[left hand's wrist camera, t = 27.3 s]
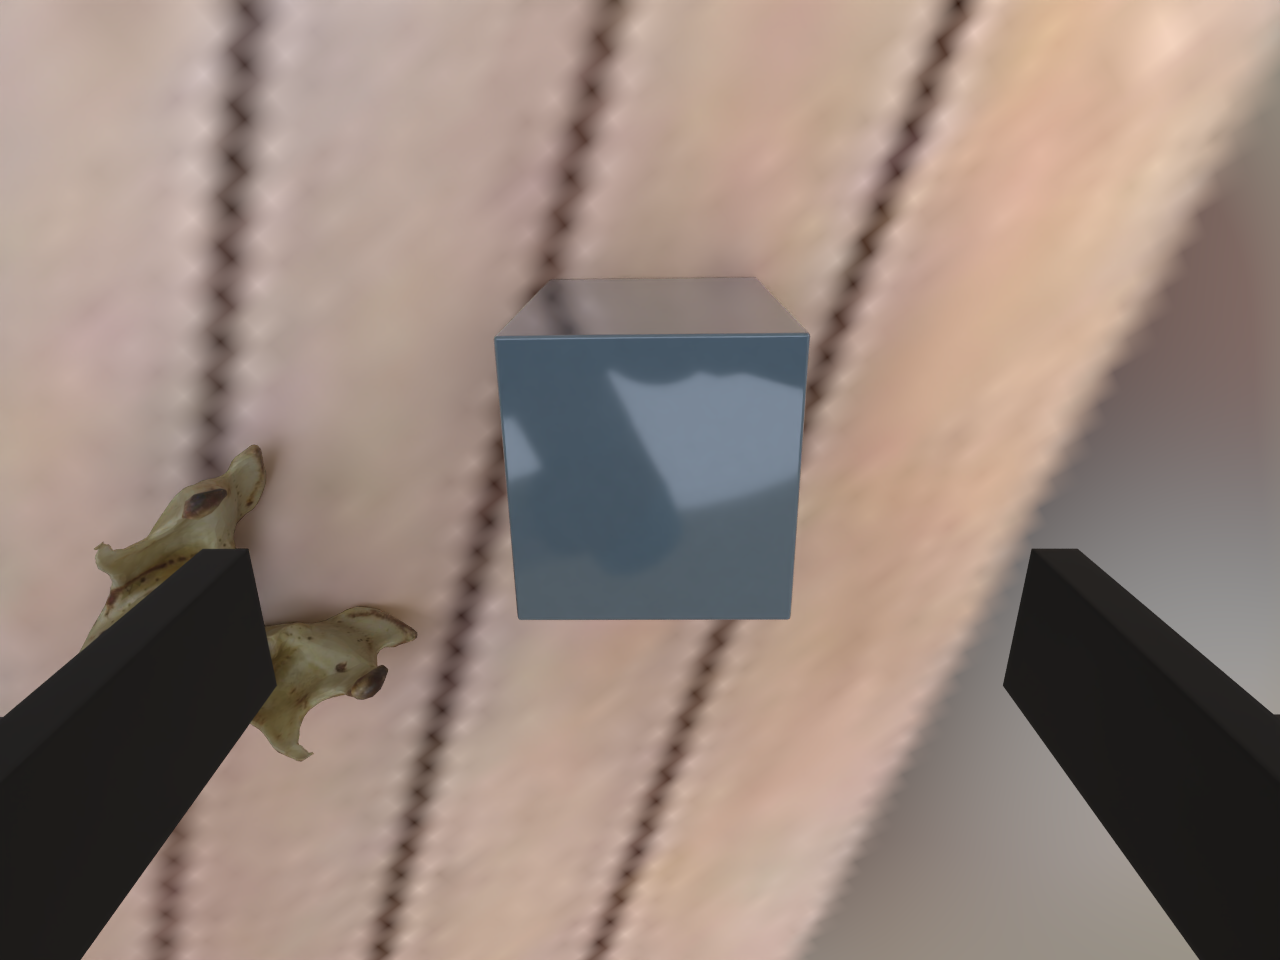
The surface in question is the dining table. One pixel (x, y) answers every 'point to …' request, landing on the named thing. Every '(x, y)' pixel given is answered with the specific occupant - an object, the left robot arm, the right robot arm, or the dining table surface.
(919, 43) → the dining table surface
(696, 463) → the block
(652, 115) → the dining table surface
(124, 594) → the jawbone
